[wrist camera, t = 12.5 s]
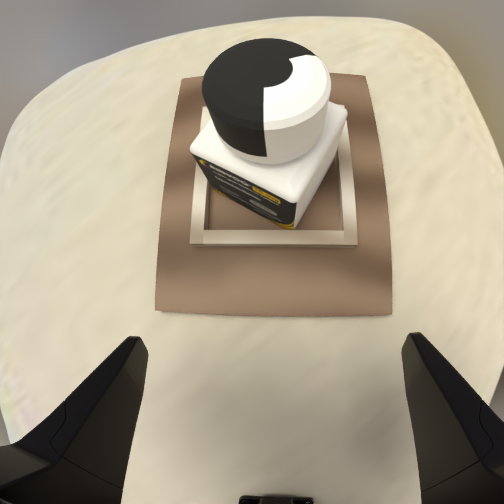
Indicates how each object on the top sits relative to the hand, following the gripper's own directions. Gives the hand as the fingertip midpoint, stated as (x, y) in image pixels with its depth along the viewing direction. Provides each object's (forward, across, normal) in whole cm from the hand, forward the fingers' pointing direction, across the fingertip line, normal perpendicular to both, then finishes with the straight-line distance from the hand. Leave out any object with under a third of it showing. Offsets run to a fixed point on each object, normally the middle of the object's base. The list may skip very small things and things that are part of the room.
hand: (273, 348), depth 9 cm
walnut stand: (+18, 0, +1) cm, 18 cm away
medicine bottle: (+17, 0, +1) cm, 17 cm away
